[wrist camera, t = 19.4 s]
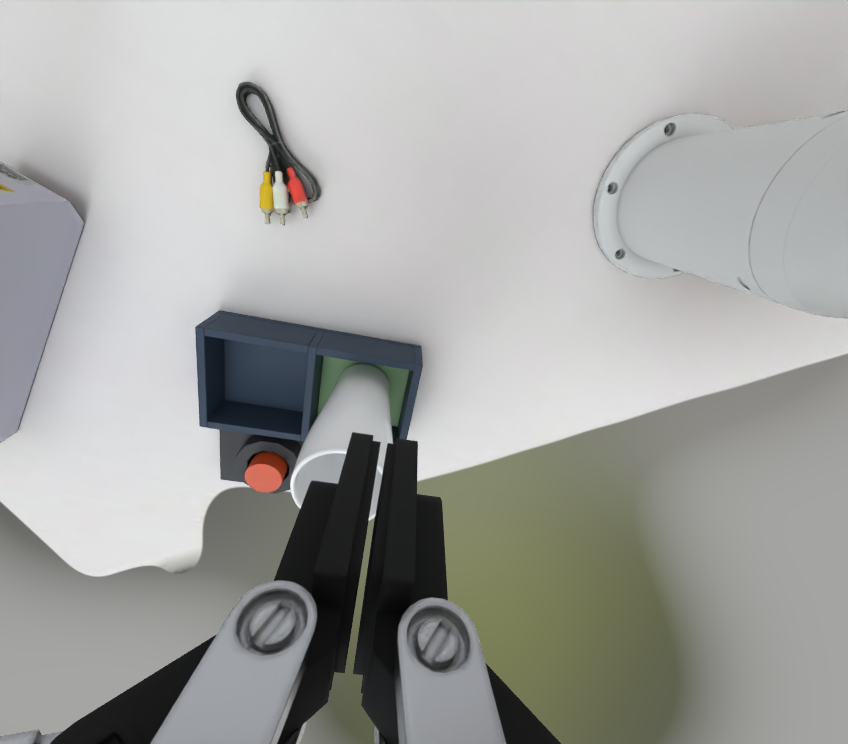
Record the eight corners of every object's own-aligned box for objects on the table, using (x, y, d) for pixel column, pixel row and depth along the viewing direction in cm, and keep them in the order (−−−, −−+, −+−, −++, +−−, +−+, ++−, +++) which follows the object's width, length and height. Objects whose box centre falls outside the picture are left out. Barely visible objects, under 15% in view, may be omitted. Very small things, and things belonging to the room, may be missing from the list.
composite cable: (232, 86, 30) (218, 79, 28) (295, 76, 30) (286, 68, 27) (272, 225, 34) (262, 229, 32) (327, 217, 34) (321, 220, 32)
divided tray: (421, 345, 39) (422, 365, 35) (403, 429, 43) (402, 455, 39) (219, 310, 37) (194, 326, 33) (220, 401, 41) (199, 426, 37)
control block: (332, 424, 43) (326, 444, 40) (325, 482, 46) (319, 504, 43) (226, 408, 42) (211, 427, 38) (226, 469, 45) (212, 491, 42)
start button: (288, 454, 40) (282, 466, 39) (286, 481, 42) (281, 494, 40) (251, 449, 40) (244, 461, 38) (251, 477, 42) (244, 490, 40)
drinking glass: (411, 384, 40) (412, 488, 27) (367, 426, 42) (347, 542, 28) (359, 340, 38) (331, 430, 24) (315, 387, 40) (267, 493, 26)
